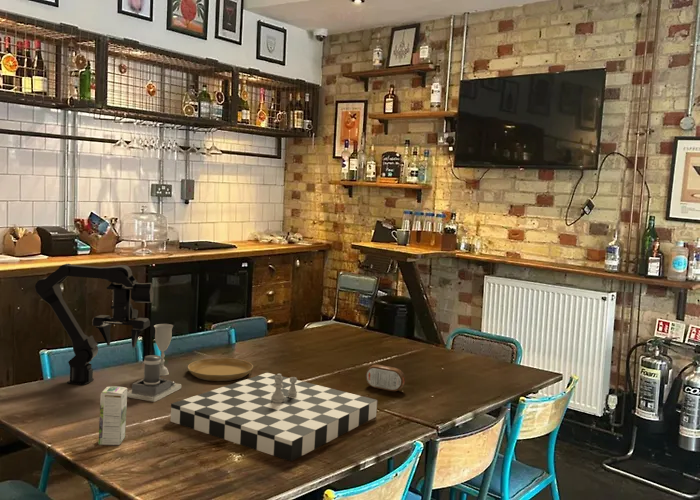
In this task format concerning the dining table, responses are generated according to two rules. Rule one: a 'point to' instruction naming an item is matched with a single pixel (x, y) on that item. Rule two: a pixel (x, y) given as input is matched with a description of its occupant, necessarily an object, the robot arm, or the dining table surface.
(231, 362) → the plant saucer
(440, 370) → the dining table surface
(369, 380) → the tin
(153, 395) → the white base plate
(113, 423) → the syrup box
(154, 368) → the grey rounded cylinder
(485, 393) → the dining table surface
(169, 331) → the chalice
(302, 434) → the checkerboard
